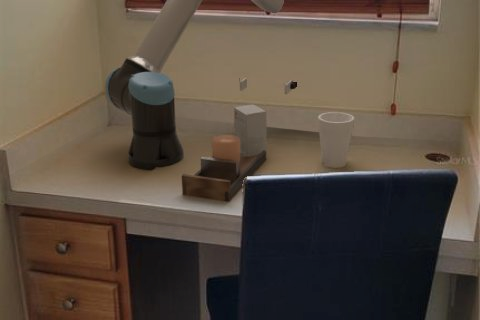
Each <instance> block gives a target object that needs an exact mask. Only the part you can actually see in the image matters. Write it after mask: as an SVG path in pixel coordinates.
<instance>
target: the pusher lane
mask: <svg viewBox="0 0 480 320" xmlns="http://www.w3.org/2000/svg"><path fill="white" fill-rule="evenodd" d="M266 161H267V150H266V151H265V150H263V151H262V152H261V153H260V154H259V155H256V157H253V156H249V157H246V156H245V155H243V156H242V155H240V176H239V177H238V178H237V179H236V180H235V181H234V182H233V183H232V185H231V181H230V180H223V179H216V178H209V177H202V176H201V168H200V169H199V170H198V171H197V172H195V174H193V175H192V174H185V173H183V174H181V188H182V191H181V192H182V196H188V197H193V198H200V199H201V198H202V199H207V200H213V201H222V202H226V203H230V202H231V201H232V200H233V199H234V197H235V196H236V195H237V194H238V193H239V192H240V190H242V188H243V187H242V184H243V180H244V178H245V177H247V176H252V177H253V176H254V175H255V173H256V172H257V171H258V170H259V169H260V168H261V166H263V165H264V163H265V162H266Z"/></svg>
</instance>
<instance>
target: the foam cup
mask: <svg viewBox="0 0 480 320" xmlns="http://www.w3.org/2000/svg"><path fill="white" fill-rule="evenodd" d="M354 124H355V116H353V115H352V114H350V113H347V112H340V111H327V112H324V113H320V114H319V115H318V116H317V127H318V136H319V144H320V154H321V162H322V164H323V165H322V166H325V167H327V168H333V169H334V168H336V169H337V168H338V169H339V168H342V167H344V166H346V163H347V159H348V154H349V148H350V144H351V143H350V142H351V138H352V134H353V129H354Z"/></svg>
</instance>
